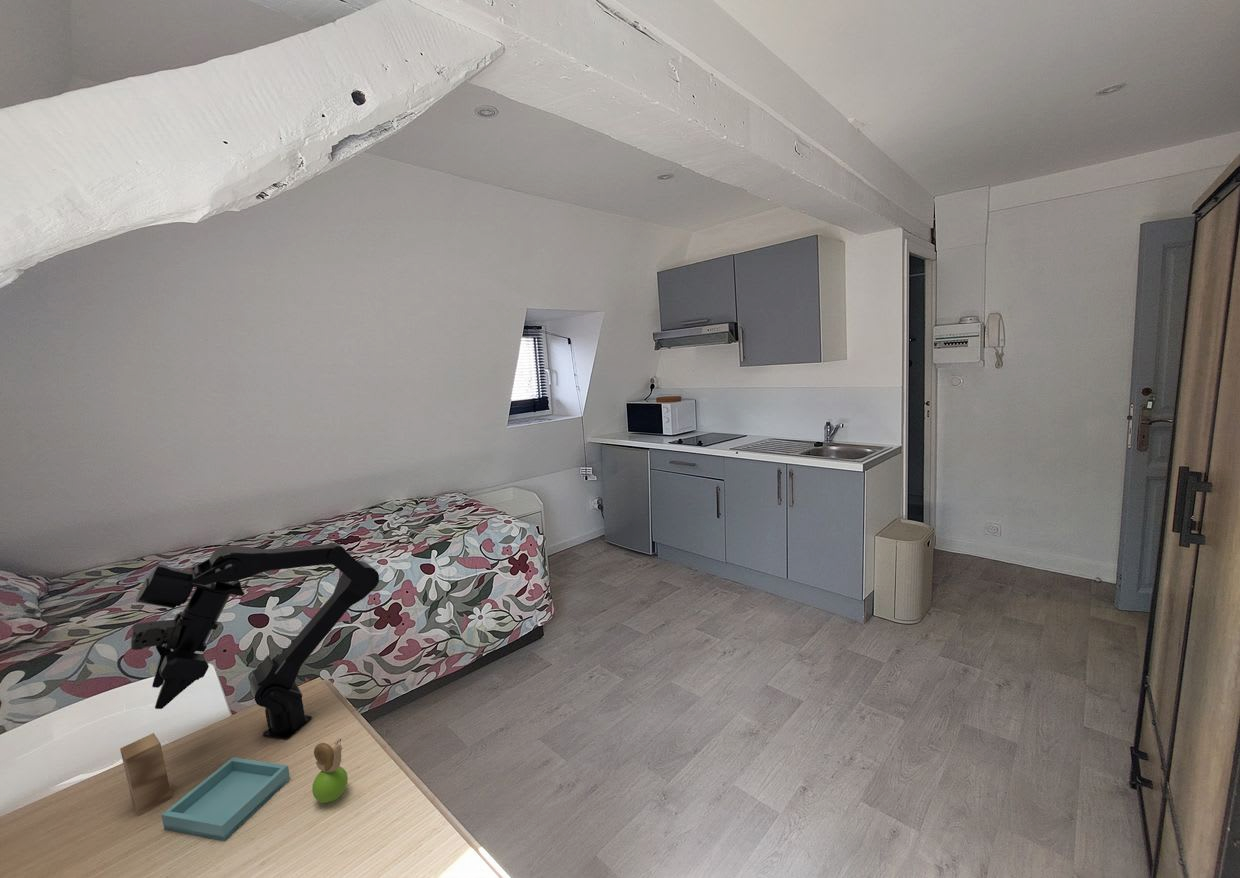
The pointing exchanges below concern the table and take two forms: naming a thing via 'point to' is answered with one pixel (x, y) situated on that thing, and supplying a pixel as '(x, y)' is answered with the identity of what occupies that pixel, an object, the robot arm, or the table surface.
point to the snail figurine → (329, 773)
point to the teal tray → (226, 798)
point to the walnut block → (146, 773)
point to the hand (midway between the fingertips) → (156, 697)
